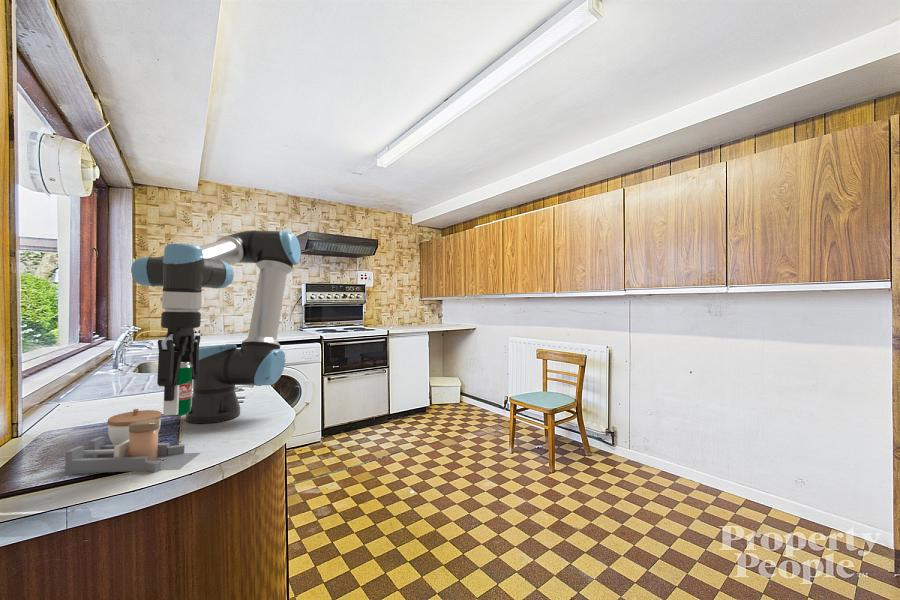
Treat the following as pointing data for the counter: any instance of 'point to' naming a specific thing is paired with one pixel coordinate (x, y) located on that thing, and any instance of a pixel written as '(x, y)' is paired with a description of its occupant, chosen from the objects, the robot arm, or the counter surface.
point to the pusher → (112, 450)
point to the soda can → (184, 388)
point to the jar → (144, 439)
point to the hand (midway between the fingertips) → (178, 410)
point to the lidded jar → (120, 423)
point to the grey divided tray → (125, 459)
